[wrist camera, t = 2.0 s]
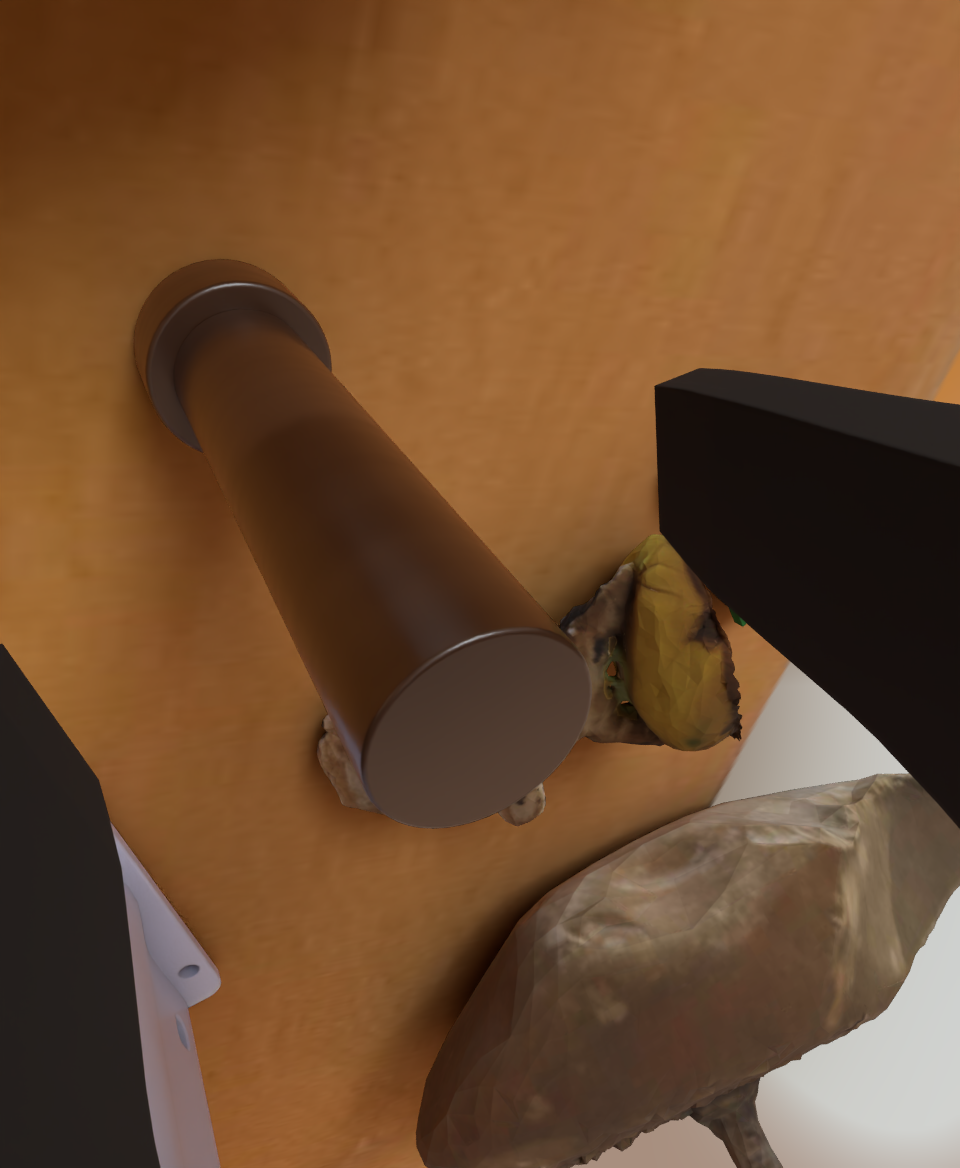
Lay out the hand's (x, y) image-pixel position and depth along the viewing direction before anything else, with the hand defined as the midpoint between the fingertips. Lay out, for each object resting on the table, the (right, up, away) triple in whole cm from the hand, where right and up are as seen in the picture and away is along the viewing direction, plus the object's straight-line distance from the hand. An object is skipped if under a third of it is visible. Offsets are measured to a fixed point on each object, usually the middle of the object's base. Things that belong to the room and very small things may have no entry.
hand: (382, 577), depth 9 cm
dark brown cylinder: (-3, +4, +6) cm, 8 cm away
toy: (+7, -2, +12) cm, 14 cm away
